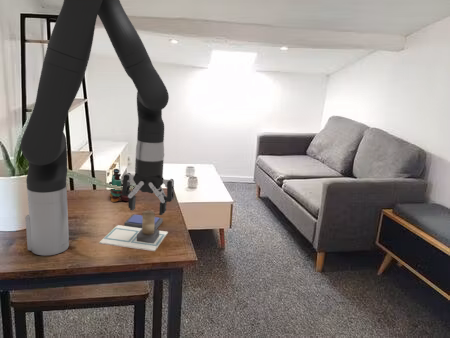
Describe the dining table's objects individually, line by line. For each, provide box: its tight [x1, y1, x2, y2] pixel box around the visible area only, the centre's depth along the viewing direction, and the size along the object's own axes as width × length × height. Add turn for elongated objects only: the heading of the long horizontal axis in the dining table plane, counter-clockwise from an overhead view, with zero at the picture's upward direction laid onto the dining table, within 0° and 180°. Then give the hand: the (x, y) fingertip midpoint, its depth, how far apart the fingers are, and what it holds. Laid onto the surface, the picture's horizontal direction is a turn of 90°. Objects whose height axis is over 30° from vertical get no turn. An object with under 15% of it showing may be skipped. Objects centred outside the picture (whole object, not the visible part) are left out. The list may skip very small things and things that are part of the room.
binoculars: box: [108, 168, 136, 203], centre depth 142 cm, size 9×11×10 cm
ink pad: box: [123, 213, 164, 230], centre depth 123 cm, size 10×7×2 cm
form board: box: [99, 224, 169, 252], centre depth 114 cm, size 16×12×1 cm
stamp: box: [137, 210, 160, 244], centre depth 112 cm, size 5×5×8 cm
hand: (147, 211), depth 111 cm, fingers open, 8 cm apart
